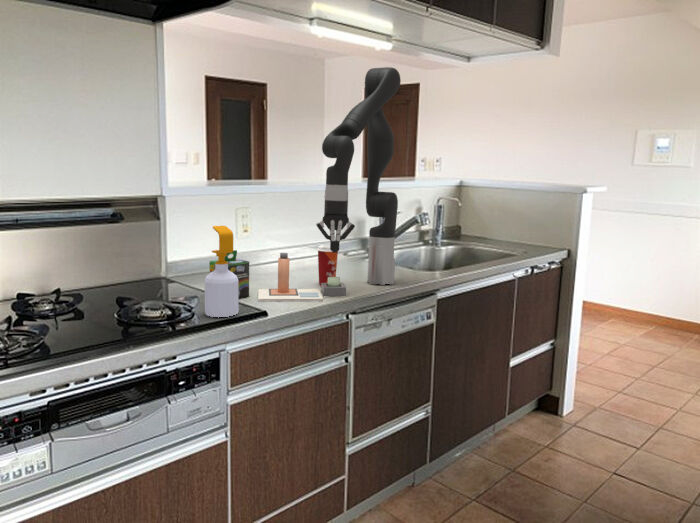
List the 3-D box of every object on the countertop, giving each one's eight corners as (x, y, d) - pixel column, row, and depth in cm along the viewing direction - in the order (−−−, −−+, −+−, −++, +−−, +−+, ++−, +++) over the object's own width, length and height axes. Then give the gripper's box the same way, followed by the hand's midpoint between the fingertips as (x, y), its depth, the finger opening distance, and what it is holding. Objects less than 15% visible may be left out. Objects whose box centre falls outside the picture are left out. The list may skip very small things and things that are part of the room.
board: (318, 291, 192) (318, 288, 192) (323, 301, 178) (323, 297, 178) (258, 291, 189) (258, 288, 189) (258, 301, 175) (258, 298, 175)
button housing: (342, 291, 193) (343, 282, 193) (346, 296, 186) (346, 287, 185) (321, 291, 192) (321, 282, 191) (323, 296, 185) (323, 287, 184)
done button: (338, 288, 191) (339, 276, 190) (340, 290, 187) (340, 278, 186) (326, 288, 190) (327, 276, 190) (328, 290, 186) (328, 278, 186)
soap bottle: (227, 308, 165) (227, 224, 161) (244, 315, 159) (244, 227, 155) (199, 313, 160) (198, 225, 156) (214, 320, 153) (214, 228, 149)
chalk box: (231, 292, 187) (231, 247, 185) (250, 296, 181) (250, 250, 179) (208, 296, 180) (208, 249, 178) (227, 301, 174) (227, 253, 172)
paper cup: (333, 288, 198) (334, 248, 195) (312, 286, 200) (313, 246, 198) (341, 284, 205) (342, 245, 202) (321, 282, 207) (322, 244, 205)
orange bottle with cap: (288, 290, 187) (289, 252, 185) (288, 293, 184) (289, 254, 181) (277, 290, 187) (278, 252, 184) (277, 292, 183) (278, 254, 181)
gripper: (317, 199, 179) (315, 253, 182) (358, 200, 181) (356, 254, 184) (314, 197, 186) (313, 250, 189) (354, 199, 189) (352, 251, 191)
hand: (334, 252), depth 186 cm, fingers closed
